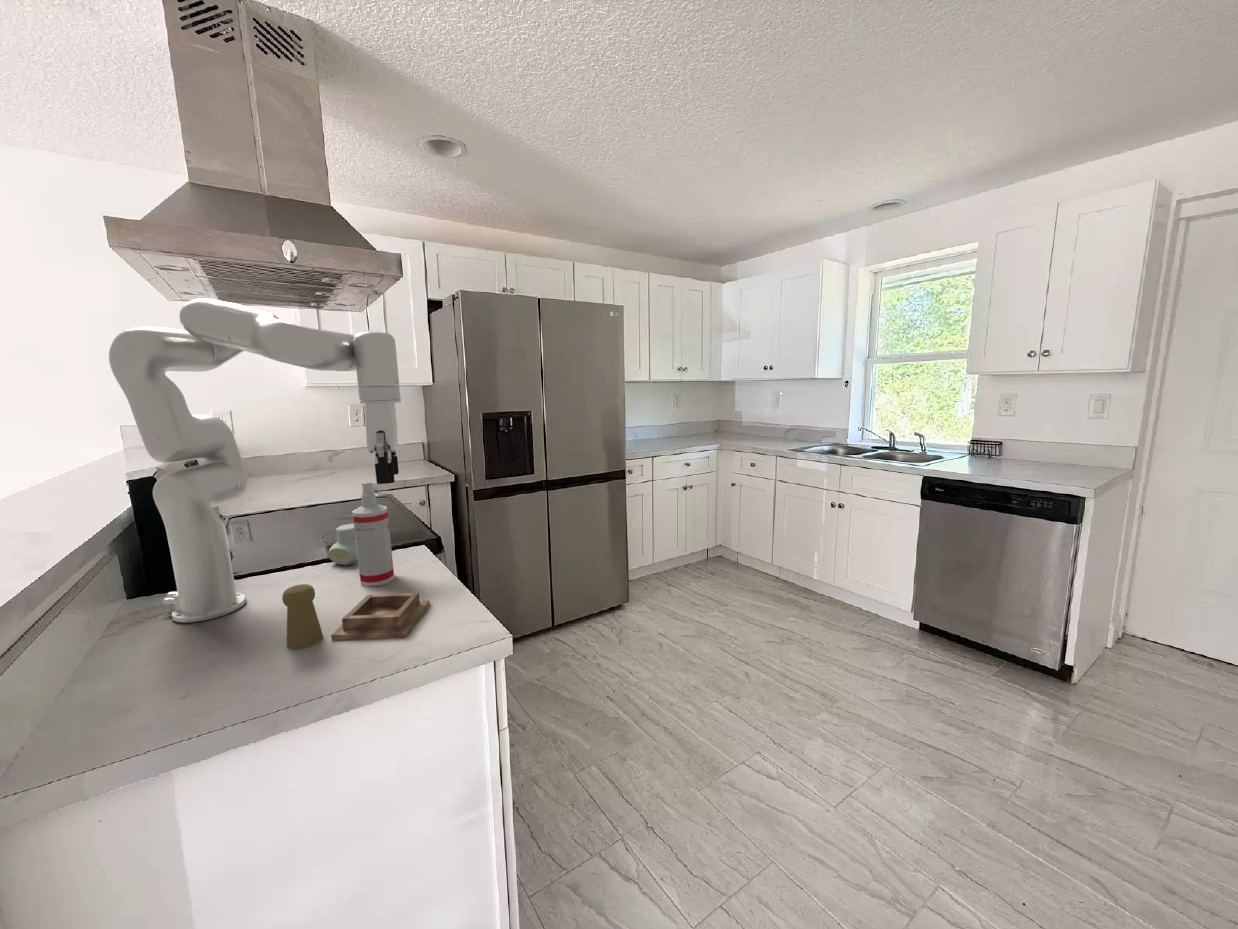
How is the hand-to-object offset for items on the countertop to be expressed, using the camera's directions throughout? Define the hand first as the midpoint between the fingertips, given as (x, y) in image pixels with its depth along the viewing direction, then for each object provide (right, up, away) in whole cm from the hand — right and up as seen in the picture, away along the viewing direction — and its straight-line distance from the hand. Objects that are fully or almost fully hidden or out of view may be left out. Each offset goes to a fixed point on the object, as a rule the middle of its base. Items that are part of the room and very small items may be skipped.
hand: (388, 478), depth 102 cm
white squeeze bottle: (-13, -26, +21) cm, 36 cm away
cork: (-12, -31, -8) cm, 34 cm away
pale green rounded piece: (-26, -24, +34) cm, 49 cm away
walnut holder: (-1, -29, 0) cm, 29 cm away
